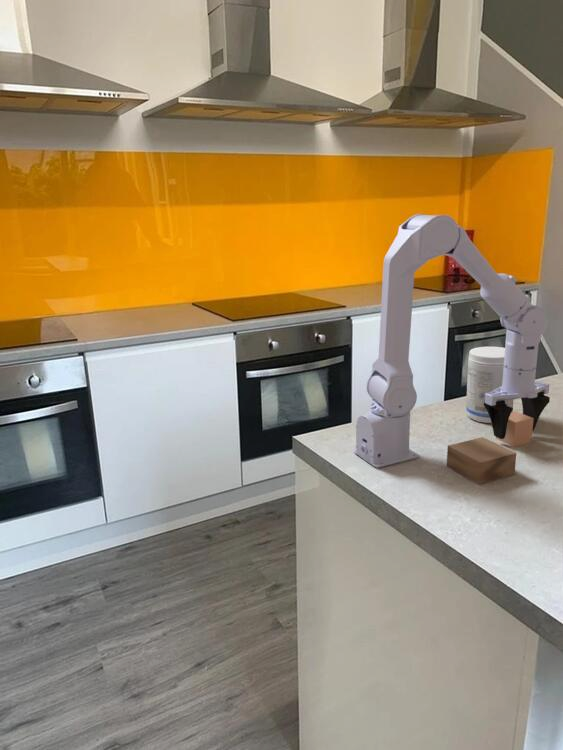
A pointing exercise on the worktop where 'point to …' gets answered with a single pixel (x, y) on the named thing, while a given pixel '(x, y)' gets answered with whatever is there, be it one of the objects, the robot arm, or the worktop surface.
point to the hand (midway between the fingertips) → (513, 433)
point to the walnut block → (481, 460)
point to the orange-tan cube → (518, 429)
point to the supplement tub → (483, 380)
